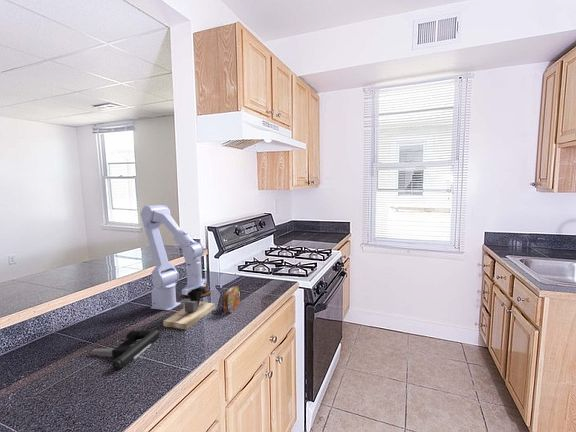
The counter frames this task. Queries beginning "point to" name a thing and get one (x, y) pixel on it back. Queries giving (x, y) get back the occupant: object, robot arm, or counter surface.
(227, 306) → the tin
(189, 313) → the slider board
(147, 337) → the door handle
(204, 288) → the skull
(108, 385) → the counter surface
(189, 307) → the fader knob
